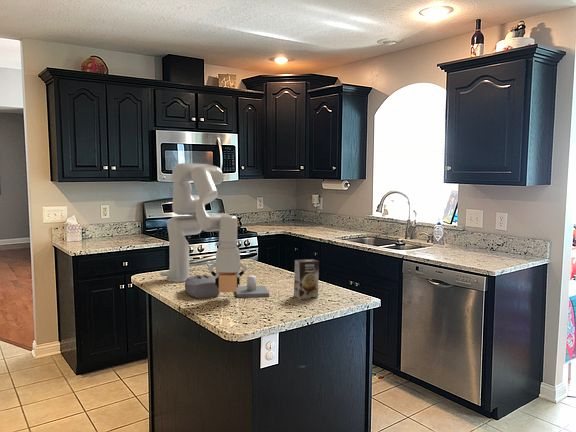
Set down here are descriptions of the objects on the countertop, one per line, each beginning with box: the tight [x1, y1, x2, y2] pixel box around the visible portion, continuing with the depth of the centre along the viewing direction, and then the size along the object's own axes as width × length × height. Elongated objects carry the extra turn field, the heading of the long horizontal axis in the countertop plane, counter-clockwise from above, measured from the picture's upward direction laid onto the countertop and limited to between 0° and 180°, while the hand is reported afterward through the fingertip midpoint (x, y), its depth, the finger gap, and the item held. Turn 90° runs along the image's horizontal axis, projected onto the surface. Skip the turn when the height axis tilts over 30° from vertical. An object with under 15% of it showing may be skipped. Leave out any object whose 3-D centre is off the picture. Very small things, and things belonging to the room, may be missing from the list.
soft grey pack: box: [184, 274, 220, 299], centre depth 211 cm, size 15×8×20 cm
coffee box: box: [293, 258, 320, 300], centre depth 207 cm, size 9×6×16 cm
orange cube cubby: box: [218, 273, 237, 293], centre depth 200 cm, size 7×7×7 cm
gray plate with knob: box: [235, 275, 270, 298], centre depth 212 cm, size 14×14×8 cm
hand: (227, 286), depth 200 cm, fingers closed on orange cube cubby, 7 cm apart
